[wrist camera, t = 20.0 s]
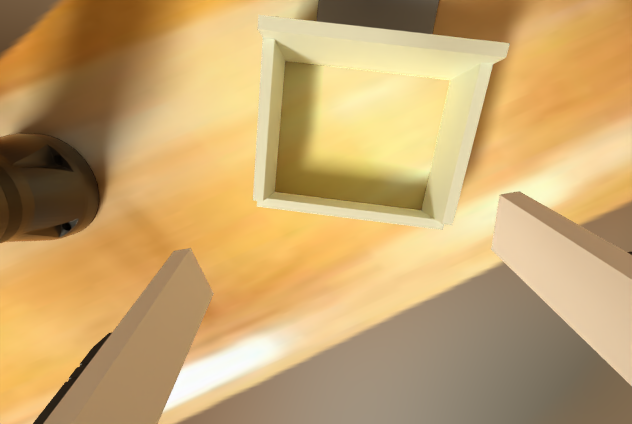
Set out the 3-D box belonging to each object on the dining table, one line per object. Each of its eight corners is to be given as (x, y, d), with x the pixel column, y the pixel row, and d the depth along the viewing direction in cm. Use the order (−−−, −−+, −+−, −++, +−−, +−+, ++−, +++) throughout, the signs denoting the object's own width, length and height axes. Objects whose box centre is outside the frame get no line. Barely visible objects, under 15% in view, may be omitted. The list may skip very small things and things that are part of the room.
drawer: (266, 198, 38) (247, 214, 29) (276, 49, 33) (258, 14, 25) (428, 219, 38) (458, 240, 29) (462, 70, 33) (509, 43, 24)
